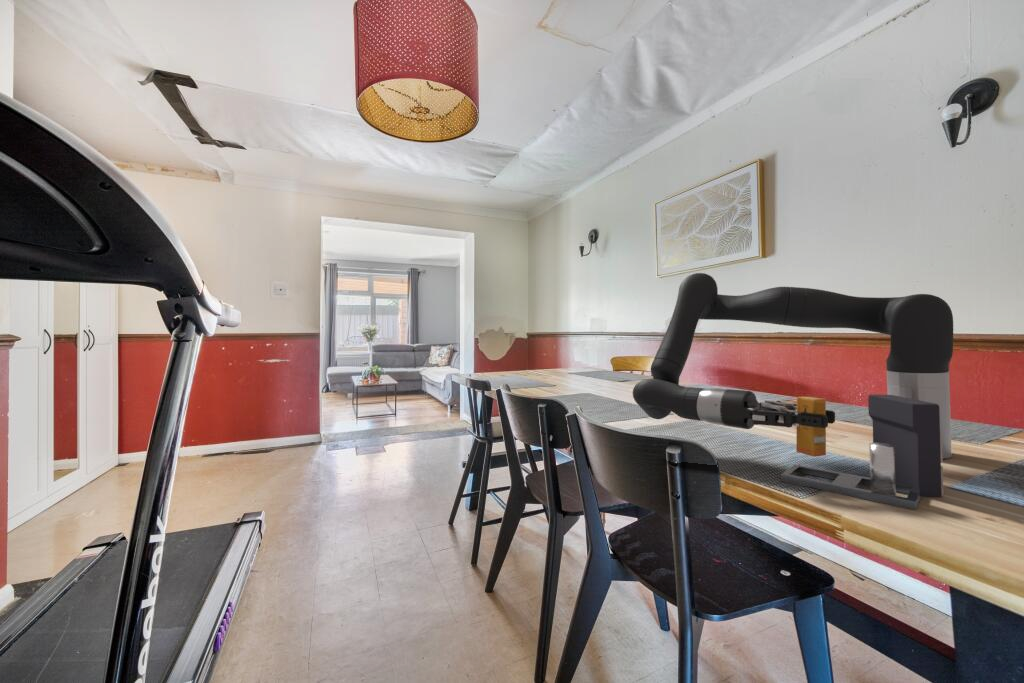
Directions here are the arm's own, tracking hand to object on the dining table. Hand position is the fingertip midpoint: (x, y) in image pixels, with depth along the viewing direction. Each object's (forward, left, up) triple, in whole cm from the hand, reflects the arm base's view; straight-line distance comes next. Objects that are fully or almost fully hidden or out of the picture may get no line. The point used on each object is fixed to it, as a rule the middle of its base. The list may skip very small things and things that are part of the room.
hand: (830, 419), depth 69 cm
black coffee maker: (-8, +8, -12) cm, 17 cm away
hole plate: (0, +2, -11) cm, 11 cm away
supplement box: (0, -3, -7) cm, 7 cm away
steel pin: (0, +6, -11) cm, 13 cm away
